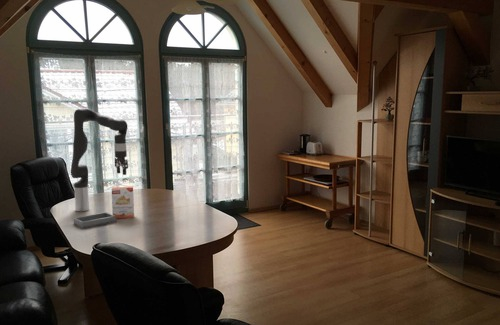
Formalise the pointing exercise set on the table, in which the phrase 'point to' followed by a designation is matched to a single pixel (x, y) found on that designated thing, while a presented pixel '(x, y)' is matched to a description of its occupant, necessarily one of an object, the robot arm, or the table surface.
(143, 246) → the table surface
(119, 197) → the cracker box
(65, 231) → the table surface
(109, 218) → the bin
